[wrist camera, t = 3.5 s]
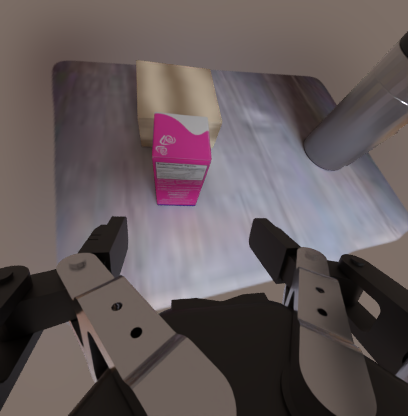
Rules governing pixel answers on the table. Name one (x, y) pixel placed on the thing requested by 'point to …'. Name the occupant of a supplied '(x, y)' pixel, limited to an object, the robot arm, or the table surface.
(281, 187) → the table surface
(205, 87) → the birch block
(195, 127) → the supplement box
